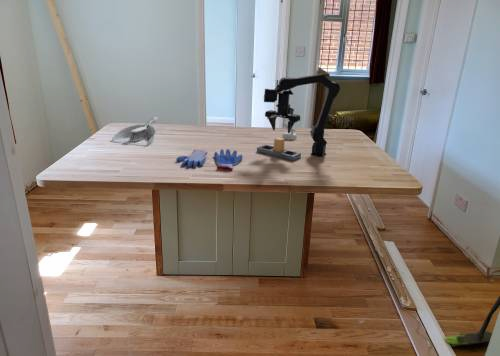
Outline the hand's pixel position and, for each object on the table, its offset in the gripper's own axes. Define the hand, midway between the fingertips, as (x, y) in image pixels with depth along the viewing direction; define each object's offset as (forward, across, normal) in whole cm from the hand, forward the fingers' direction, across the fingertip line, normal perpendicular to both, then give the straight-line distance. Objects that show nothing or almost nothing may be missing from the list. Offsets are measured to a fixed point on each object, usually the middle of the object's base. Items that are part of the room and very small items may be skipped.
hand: (281, 131), depth 209 cm
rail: (+12, -1, +3) cm, 12 cm away
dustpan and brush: (+12, +77, +29) cm, 83 cm away
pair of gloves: (+13, +20, +36) cm, 43 cm away
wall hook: (+12, +12, -31) cm, 36 cm away
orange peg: (+12, -1, +3) cm, 12 cm away
